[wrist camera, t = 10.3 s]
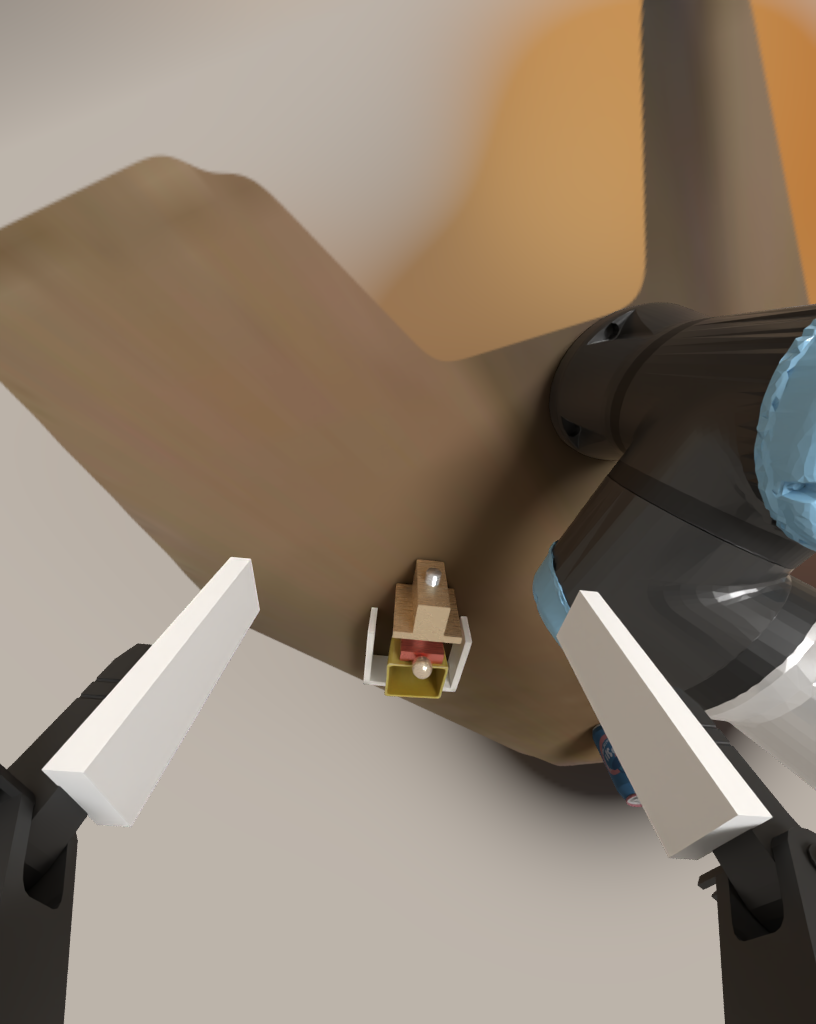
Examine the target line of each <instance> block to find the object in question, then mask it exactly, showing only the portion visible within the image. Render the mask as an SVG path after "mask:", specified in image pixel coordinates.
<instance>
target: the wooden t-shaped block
mask: <svg viewBox="0 0 816 1024" xmlns="http://www.w3.org/2000/svg"><path fill="white" fill-rule="evenodd" d="M392 638H400V661H411V662H413V663H412V671H413V674H414V675H415V676H416V677H417V678H419V679H426V678H427V677H429V676H430V674H431V673H432V663H433V664H442V662H443V658H444V647H443V642H445V643H455V644H461V641H462V632H461V627H460V621H459V615H458V610H457V604H456V599H455V593H454V589H448V587H447V580H446V573H445V567H444V562H440V561H430V560H421V559H417V562H416V568H415V574H414V579H413V585H409V584H400V583H397V584H396V593H395V607H394V622H393V636H392Z"/></svg>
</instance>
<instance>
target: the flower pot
mask: <svg viewBox="0 0 816 1024" xmlns="http://www.w3.org/2000/svg"><path fill="white" fill-rule="evenodd" d="M392 636H393V635H392ZM443 647H444V646H443ZM412 663H413V662H411V661H400V638H392V639H391V644H390V650H389V656H388V662H387V674H386V685H385V692H384V693H385V695H386V696H398V697H417V698H440V697H441V694H442V690H443V687H444V683H445V680H446V676H447V673H448V664H447V659H446V655H445V651H444V658H443V662H442V664H433V663H432V673H431V674H430V676H429V677H427V678H426V679H419V678H417V677H416V676H415V675H414V674H413V671H412Z"/></svg>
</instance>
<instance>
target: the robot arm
mask: <svg viewBox="0 0 816 1024" xmlns="http://www.w3.org/2000/svg"><path fill="white" fill-rule="evenodd" d="M549 409H550V416H551V420H552V424H553V426H554V428H555V430H556V432H557V434H558V435H559V437H560V438H561V439H562V440H563V441H564V442H565V443H566V444H567V445H569V446H570V447H572V448H573V449H575V450H577V451H578V452H580V453H582V454H584V455H586V456H589V457H592V458H596V459H602V460H619V461H618V462H617V464H616V465H615V466H614V468H613V469H612V470H611V472H610V473H609V474H608V475H607V476H606V477H605V479H604V480H603V481H602V483H601V484H600V485H599V487H598V488H597V490H596V491H595V492H594V494H593V495H592V496H591V498H590V499H589V500H588V502H587V503H586V504H585V506H584V507H583V508H582V510H581V511H580V512H579V514H578V515H577V517H576V518H575V519H574V521H573V522H572V523H571V525H570V526H569V527H568V529H567V530H566V531H565V533H564V534H563V535H562V537H561V538H560V539H559V540H557V541H556V542H554V543H553V544H552V545H551V547H550V549H549V553H548V555H547V557H546V558H545V560H544V561H543V563H542V564H541V566H540V567H539V569H538V570H537V572H536V574H535V576H534V580H533V595H534V599H535V602H536V604H537V609H538V612H539V614H540V616H541V618H542V620H543V622H544V624H545V625H546V627H547V629H548V630H549V632H550V633H551V635H552V636H553V637H554V639H555V640H556V641H557V643H558V644H559V645H560V646H561V648H562V649H563V651H564V653H565V655H566V657H567V659H568V661H569V663H570V665H571V667H572V669H573V671H574V673H575V675H576V676H577V678H578V680H579V682H580V684H581V686H582V688H583V690H584V692H585V694H586V696H587V698H588V700H589V702H590V704H591V706H592V708H593V710H594V712H595V714H596V716H597V718H598V720H599V722H600V724H601V726H602V728H603V730H604V732H605V734H606V736H607V738H608V740H609V741H610V743H611V745H612V747H613V749H614V751H615V753H616V755H617V757H618V759H619V761H620V763H621V765H622V767H623V769H624V771H625V773H626V775H627V777H628V779H629V781H630V783H631V785H632V787H633V789H634V791H635V793H636V795H637V797H638V799H639V801H640V803H641V805H642V806H643V808H644V810H645V812H646V814H647V816H648V818H649V820H650V822H651V824H652V826H653V828H654V830H655V832H656V834H657V836H658V838H659V840H660V842H661V844H662V846H663V848H664V850H665V852H666V854H667V856H668V857H669V858H676V859H693V860H698V859H700V858H702V857H704V856H705V855H707V854H709V853H711V852H712V851H713V853H714V855H715V856H716V858H717V859H718V861H719V863H720V866H718V867H716V868H715V869H712V870H710V871H709V872H707V873H705V874H703V875H701V876H700V877H699V881H698V886H699V887H701V888H702V889H706V888H708V887H710V886H712V885H714V884H716V888H717V891H715V892H714V893H713V894H712V897H713V898H714V899H715V900H716V901H717V905H718V920H719V936H720V951H721V968H722V983H723V999H724V1012H725V1013H724V1014H725V1024H816V833H814V832H812V831H810V830H808V829H804V828H801V827H800V826H799V825H798V824H797V823H796V822H795V821H794V819H793V818H792V817H791V816H790V815H789V814H788V813H787V811H786V810H785V809H784V808H783V807H782V805H781V804H780V803H779V802H778V800H777V799H776V798H775V797H774V796H773V794H772V793H771V792H770V791H769V789H768V788H767V787H766V786H765V785H764V783H763V782H762V781H761V780H760V779H759V777H758V776H757V775H756V773H755V772H754V771H753V770H752V769H751V767H750V766H749V765H748V764H747V762H746V761H745V760H744V759H743V758H742V756H741V755H740V754H739V753H738V751H737V750H736V749H735V748H734V747H733V746H731V745H730V744H729V740H728V739H727V738H726V737H725V736H724V734H723V733H722V732H721V731H720V729H717V728H716V725H715V723H714V722H713V721H712V720H711V719H714V720H722V721H727V722H730V723H731V724H732V725H734V726H735V727H736V728H737V729H738V730H740V731H741V732H742V733H744V734H745V735H746V736H747V737H749V738H750V739H751V740H753V741H754V742H755V743H757V744H758V745H759V746H760V747H761V748H763V749H764V750H765V751H766V752H768V753H769V754H770V755H772V756H773V757H774V758H776V759H777V760H778V761H779V762H780V763H782V764H783V765H784V766H786V767H787V768H788V769H790V770H791V771H792V772H793V773H795V774H796V775H797V776H798V777H799V778H801V779H802V780H803V781H805V782H806V783H807V784H808V785H810V786H811V787H812V788H814V789H815V790H816V588H814V587H812V586H810V585H808V584H806V583H804V582H802V581H800V580H798V579H797V578H795V577H793V576H791V575H789V574H790V573H791V572H792V571H793V569H795V568H796V567H797V566H799V565H800V564H801V563H803V562H804V561H805V560H806V559H808V558H809V557H810V556H811V555H813V554H814V553H816V304H812V305H805V306H797V307H789V308H781V309H773V310H765V311H757V312H750V313H742V314H734V315H726V316H720V317H709V316H706V315H704V314H701V313H699V312H696V311H694V310H691V309H688V308H686V307H683V306H680V305H677V304H672V303H648V304H643V305H638V306H633V307H629V308H625V309H622V310H619V311H616V312H614V313H612V314H610V315H608V316H606V317H604V318H602V319H601V320H599V321H598V322H596V323H595V324H593V325H592V326H591V327H590V328H588V329H587V330H586V331H585V332H584V333H583V334H582V335H581V336H580V337H579V338H578V339H577V340H576V341H575V342H574V343H573V345H572V346H571V347H570V348H569V350H568V351H567V353H566V354H565V356H564V357H563V359H562V361H561V363H560V365H559V367H558V369H557V371H556V373H555V376H554V379H553V382H552V386H551V391H550V399H549ZM259 611H260V608H259V602H258V596H257V591H256V585H255V579H254V573H253V568H252V562H251V559H247V558H236V557H230V559H229V560H228V561H227V562H226V563H225V564H224V565H223V566H222V567H221V569H220V570H219V571H218V572H217V573H216V574H215V575H214V576H213V578H212V579H211V580H210V581H209V582H208V583H207V584H206V585H205V587H204V588H203V589H202V590H201V591H200V592H199V593H198V595H197V596H196V597H195V598H194V599H193V600H192V601H191V602H190V603H189V605H188V606H187V607H186V608H185V609H184V610H183V612H181V614H180V615H179V616H178V617H177V618H176V619H175V620H174V621H173V623H172V624H171V625H170V626H169V627H168V628H167V629H166V631H165V632H164V633H163V634H162V635H161V636H160V637H159V638H158V639H157V641H156V642H155V643H154V644H153V645H148V644H136V645H135V646H133V647H132V648H130V649H129V650H127V651H126V652H125V653H123V654H122V655H120V656H119V657H117V658H116V659H115V660H113V662H112V663H111V664H110V665H109V666H108V667H107V668H106V669H105V670H104V671H103V672H102V673H101V674H100V675H99V676H98V677H97V680H96V681H95V682H92V683H91V684H90V685H89V686H88V687H87V688H86V689H85V690H84V691H83V693H82V694H81V696H80V697H79V698H77V699H76V700H75V701H74V702H73V703H72V704H71V705H70V706H69V707H68V708H67V709H66V710H65V711H64V712H63V713H62V714H61V715H60V716H59V717H58V718H57V719H56V720H55V721H54V722H53V723H52V724H51V725H50V726H49V727H48V728H47V729H46V730H45V731H44V732H43V734H41V736H40V737H39V738H38V739H37V740H36V741H35V742H34V743H33V744H32V745H31V746H30V747H29V748H28V749H27V750H26V751H25V752H24V753H23V754H22V755H21V756H20V757H19V758H18V759H17V760H16V761H15V762H14V763H13V764H12V765H11V766H10V767H9V768H8V769H5V768H4V767H3V766H2V765H1V764H0V1024H64V1012H65V1000H66V987H67V972H68V960H69V947H70V934H71V933H70V932H71V921H72V907H73V894H74V882H75V869H76V856H77V843H78V840H77V835H76V831H77V829H78V828H79V826H80V825H81V824H82V822H83V821H84V819H85V818H86V817H87V815H88V816H89V817H90V818H91V819H92V820H93V821H94V822H95V823H96V824H97V825H107V826H125V827H131V826H132V825H133V823H134V821H135V820H136V818H137V816H138V815H139V813H140V811H141V810H142V808H143V806H144V805H145V803H146V801H147V799H148V798H149V796H150V794H151V793H152V791H153V789H154V788H155V786H156V784H157V783H158V781H159V779H160V778H161V776H162V774H163V772H164V771H165V769H166V767H167V766H168V764H169V762H170V761H171V759H172V757H173V756H174V754H175V752H176V751H177V749H178V747H179V746H180V744H181V742H182V740H183V739H184V737H185V735H186V734H187V732H188V730H189V729H190V727H191V725H192V724H193V722H194V720H195V719H196V717H197V715H198V714H199V712H200V710H201V708H202V707H203V705H204V703H205V702H206V700H207V698H208V697H209V695H210V693H211V691H212V690H213V688H214V687H215V685H216V683H217V681H218V680H219V678H220V676H221V675H222V673H223V671H224V669H225V668H226V666H227V665H228V663H229V661H230V660H231V658H232V656H233V654H234V653H235V651H236V649H237V648H238V646H239V644H240V643H241V641H242V639H243V638H244V636H245V634H246V632H247V631H248V629H249V628H250V626H251V624H252V623H253V621H254V619H255V617H256V616H257V614H258V612H259Z"/></svg>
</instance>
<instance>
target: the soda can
mask: <svg viewBox="0 0 816 1024" xmlns="http://www.w3.org/2000/svg"><path fill="white" fill-rule="evenodd" d="M593 740H594V742H595V744H596V746H597V749H598V751H599V753H600V755H601V757H602V759H603V761H604V763H605V766H606V768H607V770H608V772H609V774H610V776H611V778H612V780H613V783H614V785H615V787H616V789H617V791H618V793H619V794H620V795H621V796H622V797H623V798H624V799H625V800H626V803H627V804H628V805H630V806H634V807H643V806H642V805H641V803H640V801H639V799H638V797H637V795H636V793H635V791H634V789H633V787H632V785H631V783H630V781H629V779H628V777H627V775H626V773H625V771H624V769H623V767H622V765H621V763H620V761H619V759H618V757H617V755H616V753H615V751H614V749H613V747H612V745H611V743H610V741H609V740H608V738H607V736H606V734H605V732H604V730H603V728H602V726H601V724H598V725H597V726H595V727H594V729H593Z"/></svg>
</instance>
